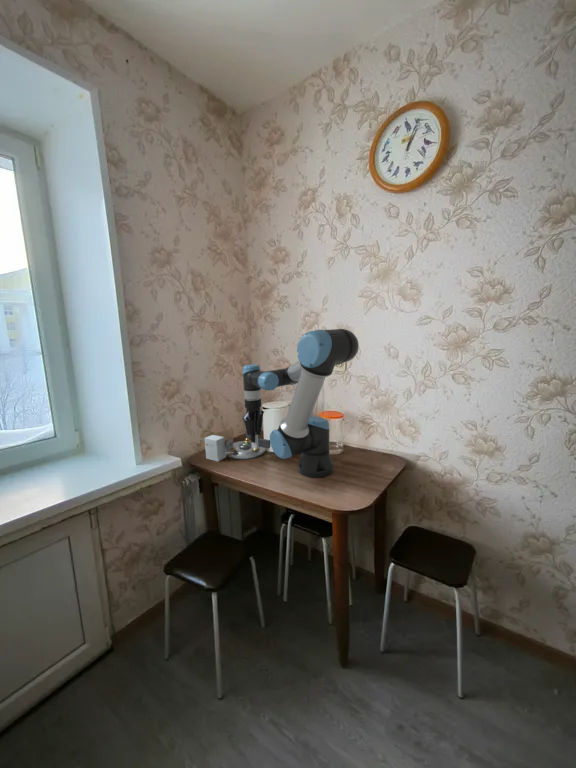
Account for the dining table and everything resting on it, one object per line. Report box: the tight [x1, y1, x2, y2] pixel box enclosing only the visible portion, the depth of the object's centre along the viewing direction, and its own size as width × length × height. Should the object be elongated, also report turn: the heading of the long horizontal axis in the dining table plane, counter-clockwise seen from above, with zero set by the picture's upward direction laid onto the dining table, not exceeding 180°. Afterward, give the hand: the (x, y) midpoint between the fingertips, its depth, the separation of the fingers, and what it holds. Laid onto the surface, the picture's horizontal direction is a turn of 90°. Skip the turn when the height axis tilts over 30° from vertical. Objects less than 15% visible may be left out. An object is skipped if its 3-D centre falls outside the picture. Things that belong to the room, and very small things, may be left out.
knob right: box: [243, 430, 251, 443], centre depth 175 cm, size 10×4×6 cm, turn 147°
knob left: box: [225, 438, 235, 452], centre depth 159 cm, size 10×4×6 cm, turn 177°
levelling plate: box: [225, 440, 266, 460], centre depth 166 cm, size 20×20×4 cm
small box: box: [204, 434, 227, 463], centre depth 158 cm, size 8×6×10 cm
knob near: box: [253, 437, 271, 451], centre depth 160 cm, size 10×4×6 cm, turn 57°
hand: (255, 448), depth 154 cm, fingers closed
